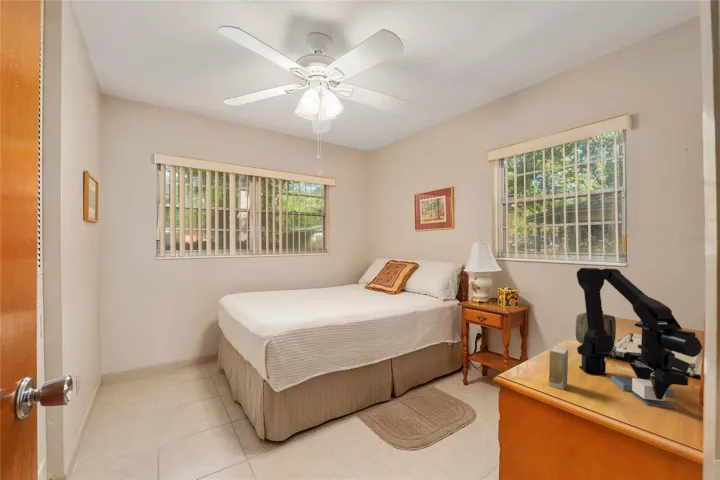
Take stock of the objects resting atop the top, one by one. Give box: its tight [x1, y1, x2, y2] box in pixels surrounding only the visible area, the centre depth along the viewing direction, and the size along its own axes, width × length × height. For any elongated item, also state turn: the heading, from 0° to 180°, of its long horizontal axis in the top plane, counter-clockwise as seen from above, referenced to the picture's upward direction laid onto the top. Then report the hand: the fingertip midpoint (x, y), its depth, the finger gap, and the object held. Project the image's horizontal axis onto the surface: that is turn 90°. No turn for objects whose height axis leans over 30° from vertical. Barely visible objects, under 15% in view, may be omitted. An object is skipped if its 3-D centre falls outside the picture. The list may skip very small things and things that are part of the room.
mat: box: [631, 392, 675, 409], centre depth 96 cm, size 7×7×1 cm
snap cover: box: [631, 377, 666, 401], centre depth 96 cm, size 6×6×4 cm
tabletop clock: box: [575, 310, 617, 346], centre depth 138 cm, size 14×9×25 cm, turn 114°
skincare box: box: [548, 346, 569, 390], centre depth 105 cm, size 6×4×12 cm
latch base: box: [610, 375, 674, 397], centre depth 105 cm, size 14×7×2 cm, turn 78°
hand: (652, 394), depth 96 cm, fingers closed on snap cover, 5 cm apart
